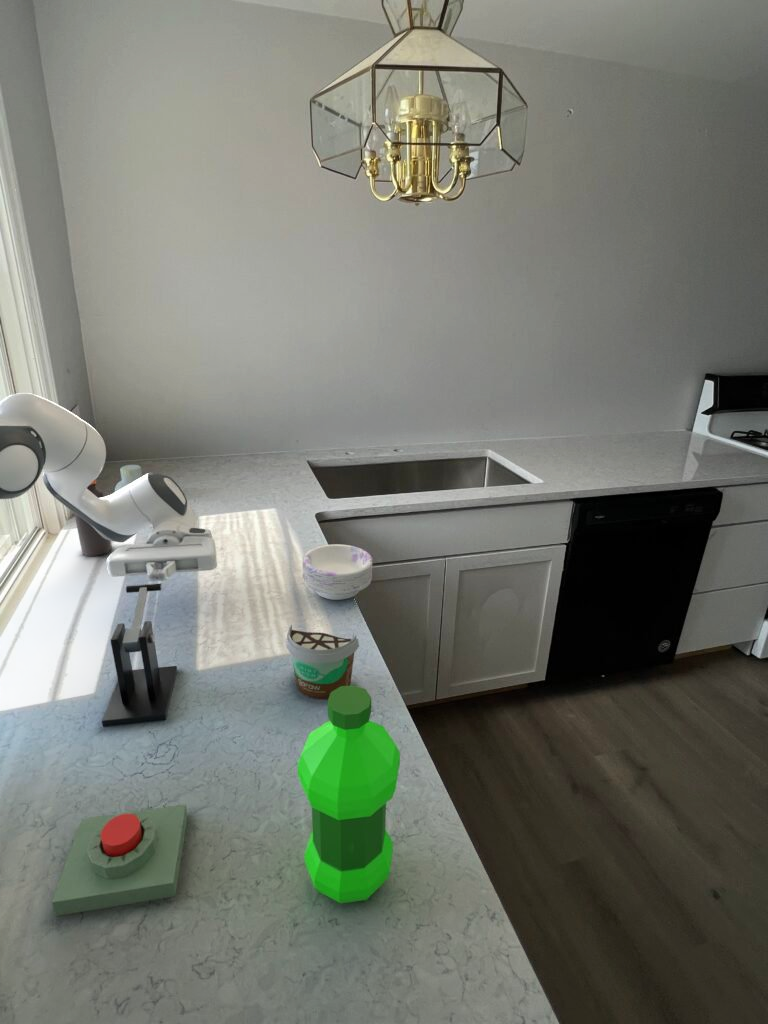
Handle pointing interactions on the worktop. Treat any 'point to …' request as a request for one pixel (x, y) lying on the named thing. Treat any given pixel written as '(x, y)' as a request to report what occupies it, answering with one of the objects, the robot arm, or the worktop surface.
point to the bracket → (139, 683)
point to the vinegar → (92, 532)
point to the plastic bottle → (349, 798)
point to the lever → (137, 616)
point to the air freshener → (128, 475)
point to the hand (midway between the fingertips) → (157, 577)
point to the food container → (321, 661)
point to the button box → (123, 863)
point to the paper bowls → (337, 570)
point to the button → (121, 835)
